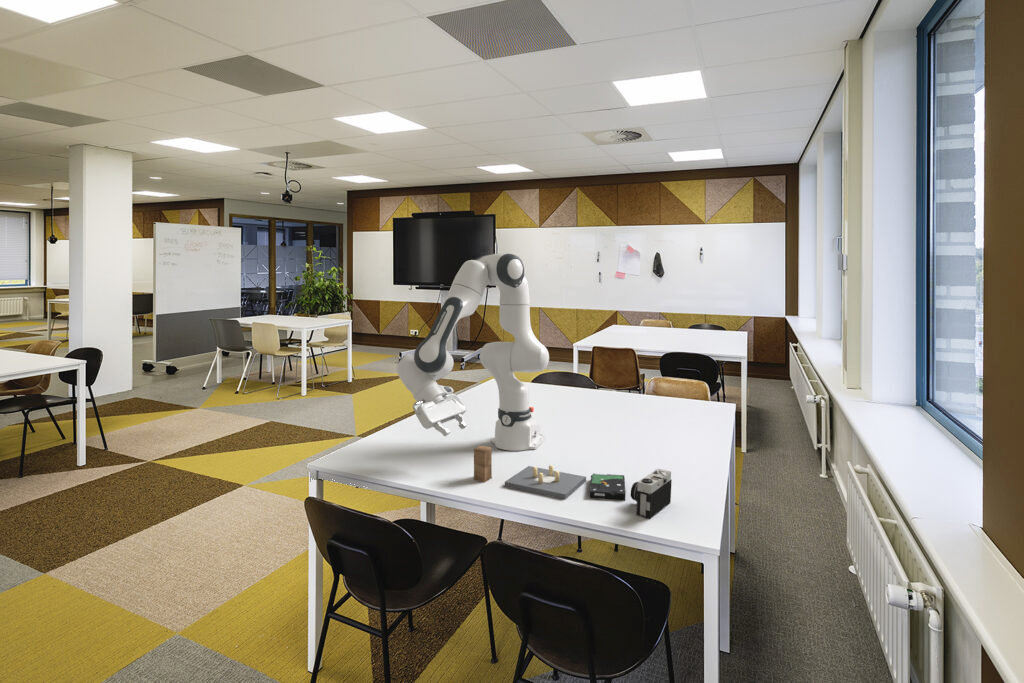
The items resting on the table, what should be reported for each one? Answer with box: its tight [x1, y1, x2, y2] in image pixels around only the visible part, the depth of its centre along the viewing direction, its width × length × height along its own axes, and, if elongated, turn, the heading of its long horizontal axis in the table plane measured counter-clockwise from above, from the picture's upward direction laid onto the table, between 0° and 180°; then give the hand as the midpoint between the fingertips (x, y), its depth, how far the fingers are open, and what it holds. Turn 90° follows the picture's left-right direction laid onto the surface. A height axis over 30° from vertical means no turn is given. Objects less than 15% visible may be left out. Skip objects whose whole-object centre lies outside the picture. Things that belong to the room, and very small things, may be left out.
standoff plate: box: [504, 464, 587, 500], centre depth 171 cm, size 16×20×4 cm
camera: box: [630, 468, 673, 520], centre depth 154 cm, size 14×9×10 cm, turn 134°
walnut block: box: [473, 445, 493, 483], centre depth 174 cm, size 4×4×10 cm
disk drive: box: [589, 473, 627, 502], centre depth 167 cm, size 10×3×15 cm
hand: (456, 431), depth 178 cm, fingers open, 8 cm apart
